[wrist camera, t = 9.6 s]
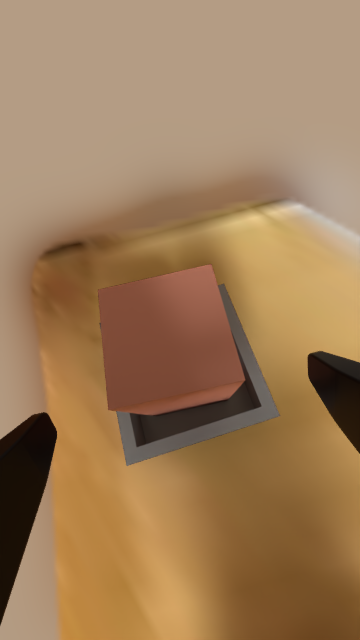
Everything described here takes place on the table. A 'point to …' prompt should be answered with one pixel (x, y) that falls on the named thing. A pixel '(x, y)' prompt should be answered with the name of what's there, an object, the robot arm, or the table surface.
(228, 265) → the table surface
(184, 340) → the red block
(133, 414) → the open box
